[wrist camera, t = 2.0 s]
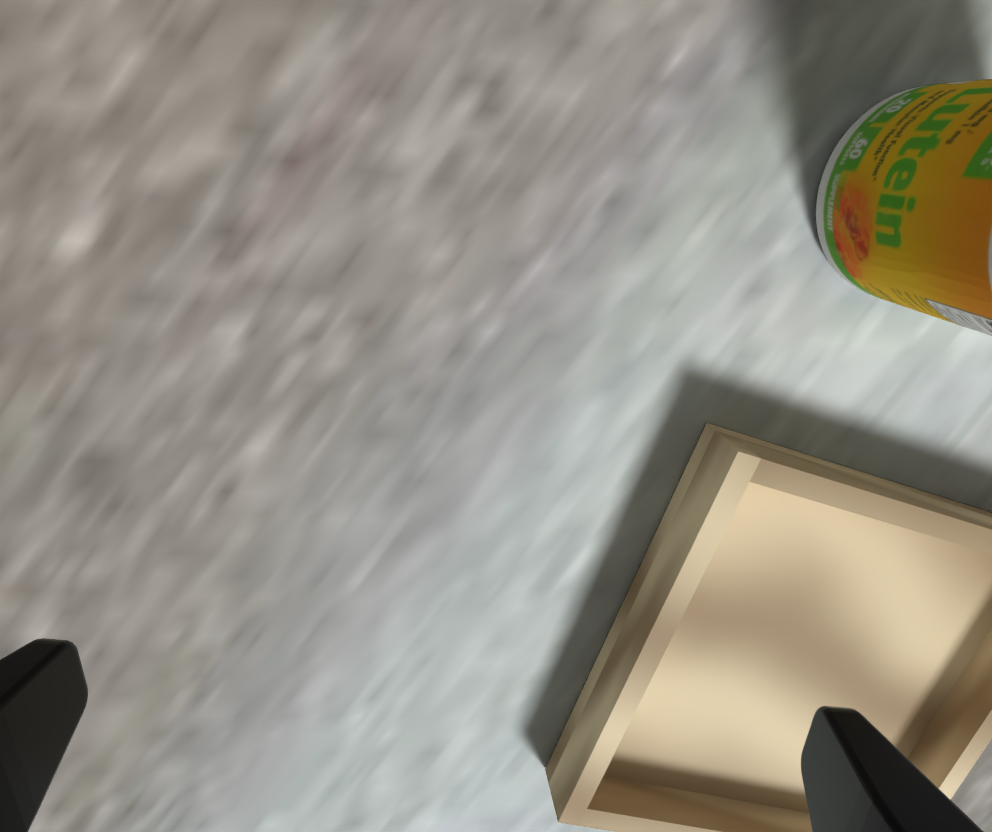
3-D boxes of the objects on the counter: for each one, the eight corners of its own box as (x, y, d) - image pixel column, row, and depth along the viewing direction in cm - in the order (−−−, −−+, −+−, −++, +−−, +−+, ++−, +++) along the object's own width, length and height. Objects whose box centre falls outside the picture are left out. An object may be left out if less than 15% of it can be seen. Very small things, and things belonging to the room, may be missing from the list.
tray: (862, 826, 28) (897, 877, 26) (545, 769, 25) (557, 822, 23) (1052, 531, 25) (1108, 565, 23) (706, 422, 22) (738, 451, 20)
